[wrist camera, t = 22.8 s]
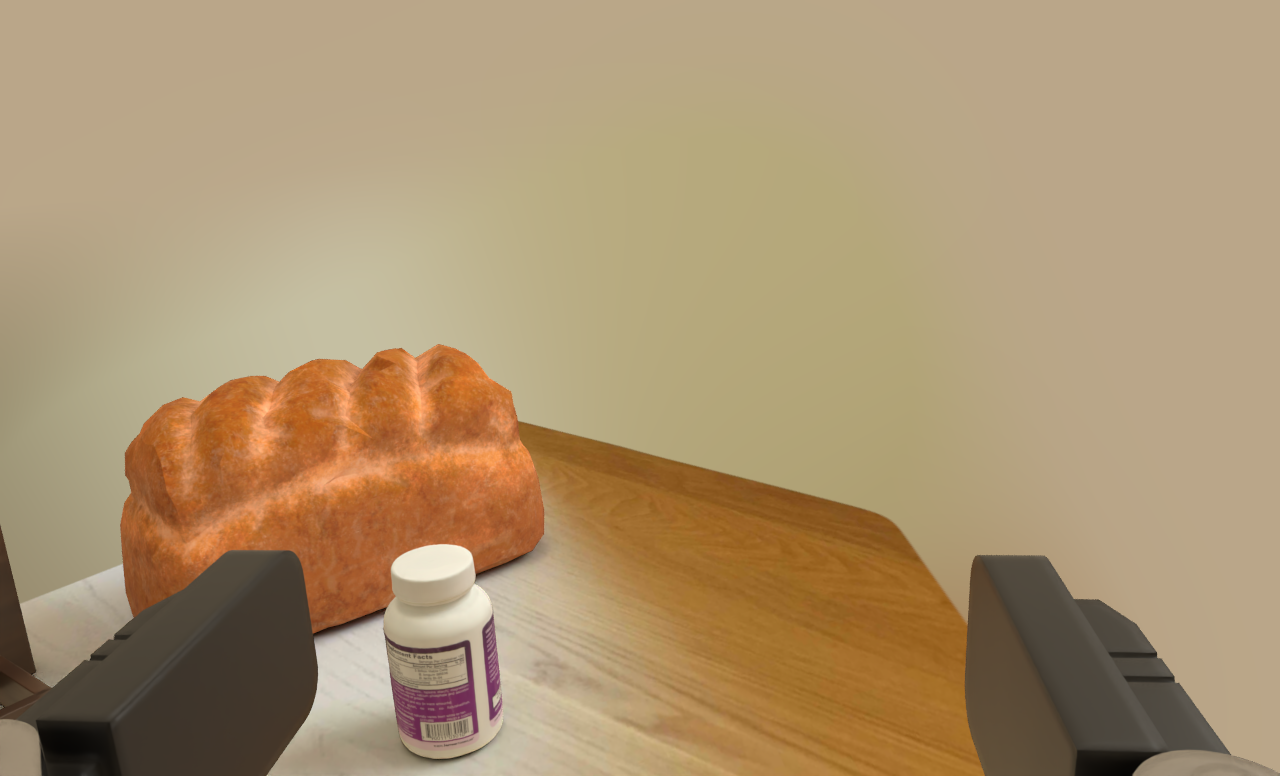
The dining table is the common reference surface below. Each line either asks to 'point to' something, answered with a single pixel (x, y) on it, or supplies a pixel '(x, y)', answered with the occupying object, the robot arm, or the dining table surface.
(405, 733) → the pill bottle
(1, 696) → the wooden display stand
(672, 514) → the dining table surface
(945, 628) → the dining table surface
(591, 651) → the dining table surface
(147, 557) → the bread
